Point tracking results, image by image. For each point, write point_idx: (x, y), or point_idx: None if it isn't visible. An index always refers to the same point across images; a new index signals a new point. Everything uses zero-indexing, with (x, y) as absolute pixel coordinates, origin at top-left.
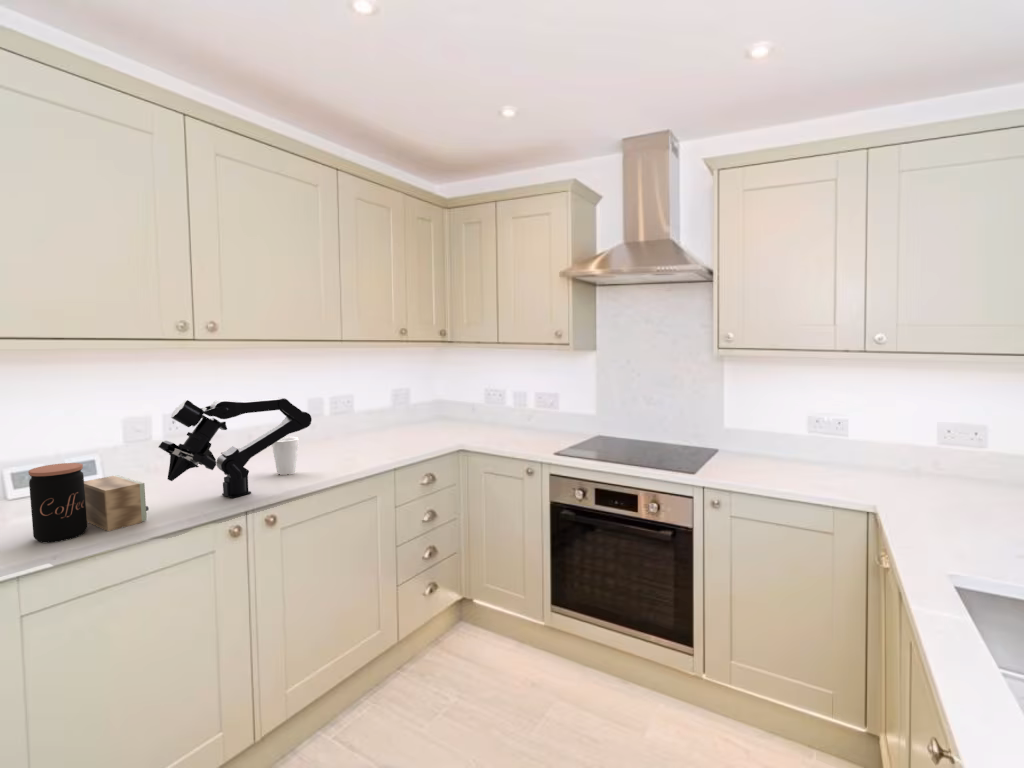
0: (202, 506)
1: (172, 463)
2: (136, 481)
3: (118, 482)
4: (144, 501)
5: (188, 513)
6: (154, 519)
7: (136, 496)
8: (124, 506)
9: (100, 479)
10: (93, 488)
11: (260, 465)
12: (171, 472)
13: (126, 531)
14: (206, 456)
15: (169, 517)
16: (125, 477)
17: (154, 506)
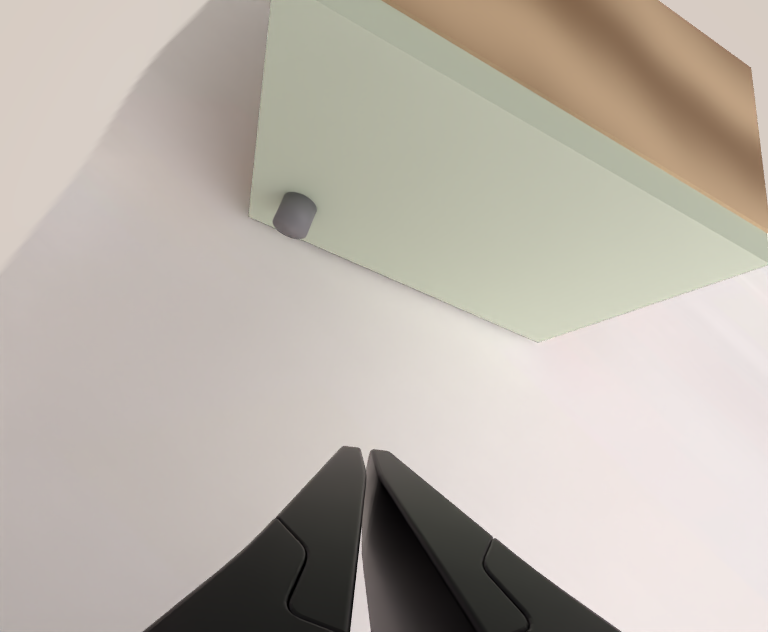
0: (60, 606)
1: (477, 597)
2: (421, 48)
3: (531, 20)
4: (259, 130)
5: (55, 401)
6: (226, 252)
7: None
8: None
9: (727, 123)
10: None
11: None
12: (383, 505)
13: (218, 78)
14: None
15: (149, 297)
16: (653, 195)
17: (451, 469)
